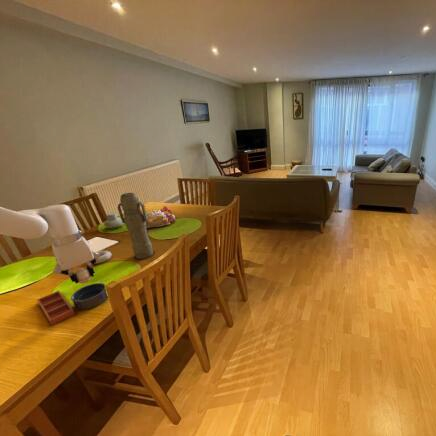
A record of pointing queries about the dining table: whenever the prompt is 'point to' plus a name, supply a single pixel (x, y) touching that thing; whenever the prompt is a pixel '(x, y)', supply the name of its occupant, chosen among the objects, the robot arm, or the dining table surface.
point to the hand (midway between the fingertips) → (84, 278)
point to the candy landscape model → (159, 218)
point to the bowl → (89, 296)
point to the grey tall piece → (136, 224)
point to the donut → (103, 256)
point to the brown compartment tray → (55, 307)
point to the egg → (83, 275)
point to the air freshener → (112, 221)
